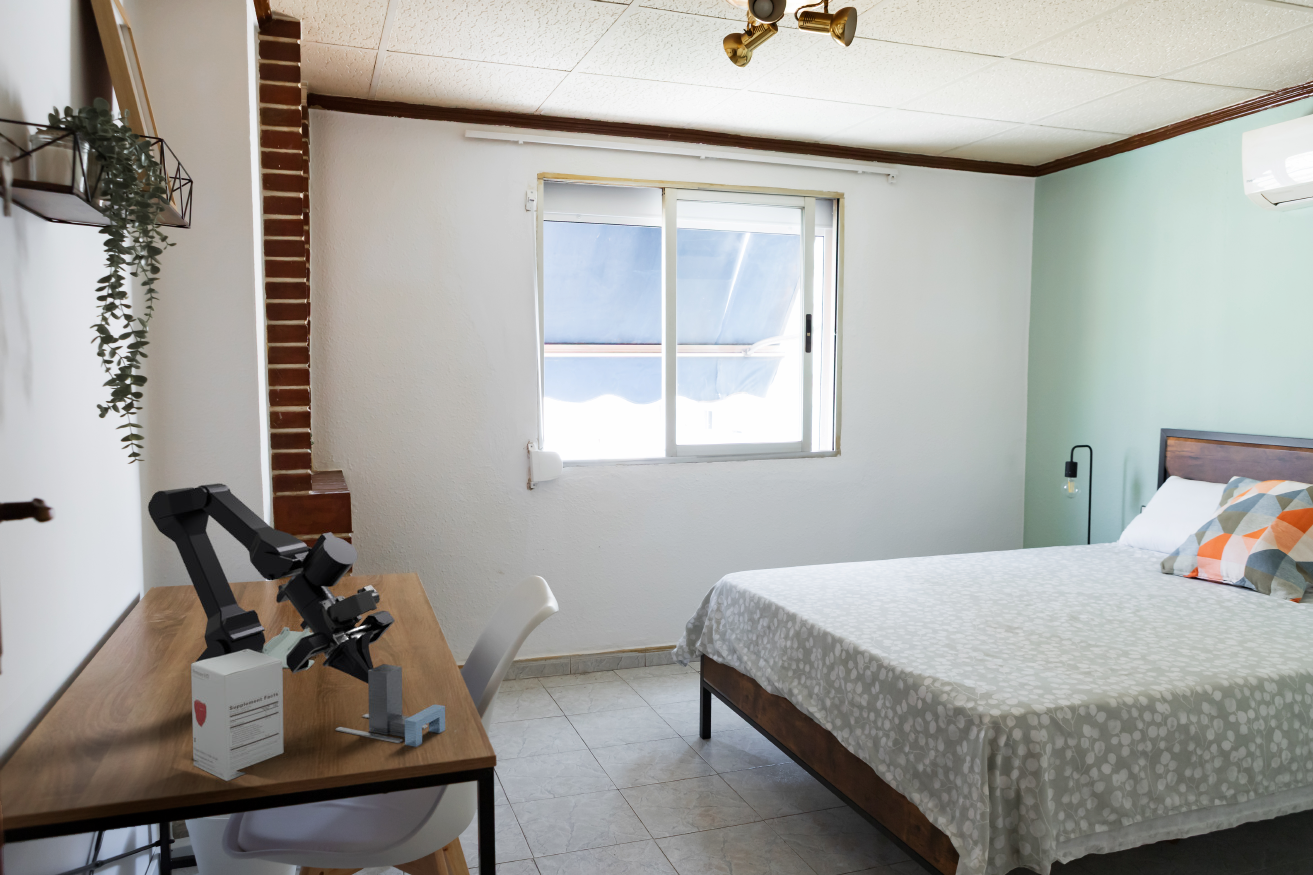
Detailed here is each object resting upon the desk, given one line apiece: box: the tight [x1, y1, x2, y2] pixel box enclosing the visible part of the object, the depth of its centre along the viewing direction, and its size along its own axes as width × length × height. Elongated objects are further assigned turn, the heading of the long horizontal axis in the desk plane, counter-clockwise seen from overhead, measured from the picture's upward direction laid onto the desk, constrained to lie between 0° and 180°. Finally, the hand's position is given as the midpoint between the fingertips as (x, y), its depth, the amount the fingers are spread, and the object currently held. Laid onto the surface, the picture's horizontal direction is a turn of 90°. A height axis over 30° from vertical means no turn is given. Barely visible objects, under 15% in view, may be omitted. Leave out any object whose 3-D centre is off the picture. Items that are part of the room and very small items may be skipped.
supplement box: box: [190, 649, 284, 782], centre depth 126 cm, size 9×9×15 cm
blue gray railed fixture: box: [335, 703, 446, 748], centre depth 136 cm, size 16×8×5 cm, turn 67°
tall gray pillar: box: [367, 663, 410, 738], centre depth 135 cm, size 8×4×10 cm, turn 67°
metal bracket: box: [262, 626, 315, 671], centre depth 175 cm, size 14×6×15 cm
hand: (373, 682), depth 136 cm, fingers closed
